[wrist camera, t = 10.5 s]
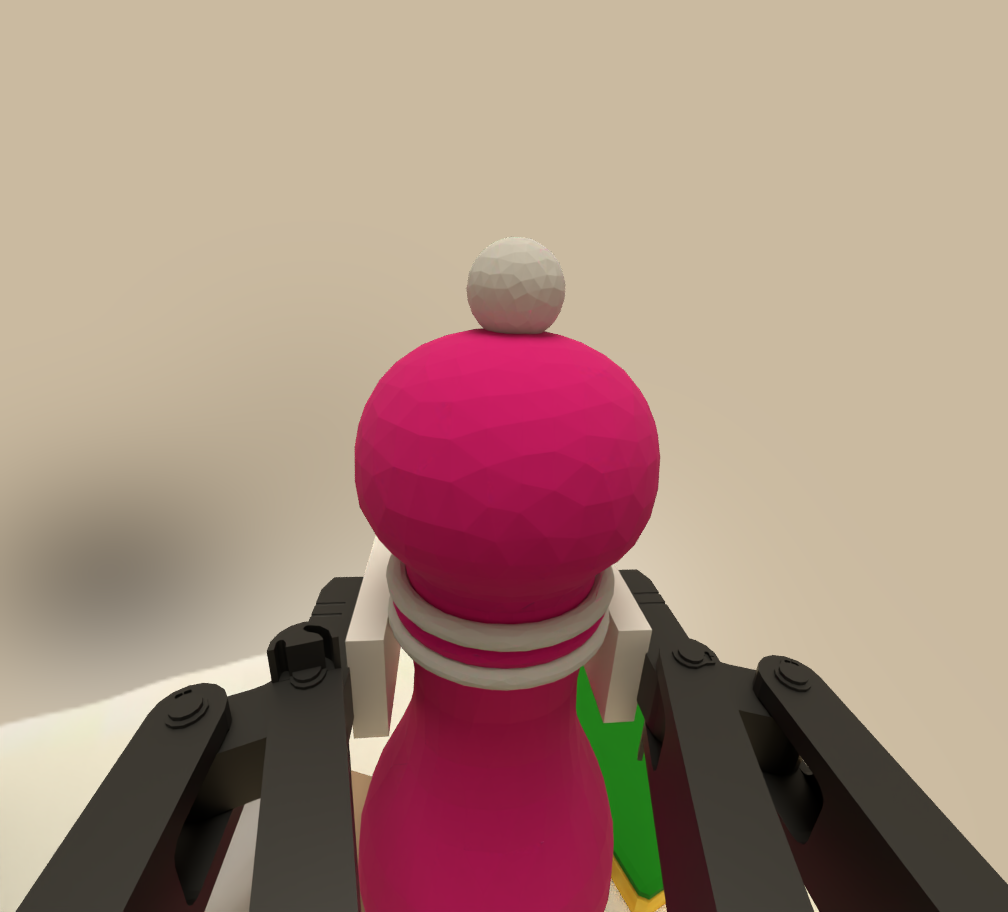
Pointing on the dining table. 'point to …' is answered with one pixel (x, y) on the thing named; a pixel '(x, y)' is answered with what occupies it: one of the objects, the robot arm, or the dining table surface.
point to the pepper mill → (499, 597)
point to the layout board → (236, 872)
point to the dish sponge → (625, 801)
